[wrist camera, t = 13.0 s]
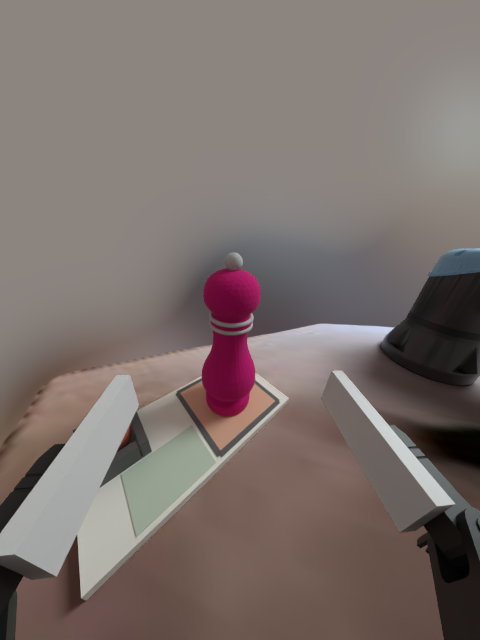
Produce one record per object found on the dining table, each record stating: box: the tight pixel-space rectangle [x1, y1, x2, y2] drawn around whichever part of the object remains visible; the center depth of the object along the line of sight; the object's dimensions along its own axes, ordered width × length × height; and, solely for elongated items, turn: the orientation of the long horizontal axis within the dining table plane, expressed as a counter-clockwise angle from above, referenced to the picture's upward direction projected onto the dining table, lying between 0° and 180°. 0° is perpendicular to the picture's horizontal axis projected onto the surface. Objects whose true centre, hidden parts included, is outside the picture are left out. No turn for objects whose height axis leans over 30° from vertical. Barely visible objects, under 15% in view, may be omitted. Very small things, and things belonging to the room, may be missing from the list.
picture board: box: [73, 372, 289, 601], centre depth 22 cm, size 12×24×3 cm, turn 132°
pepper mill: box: [202, 253, 261, 417], centre depth 21 cm, size 7×7×20 cm
